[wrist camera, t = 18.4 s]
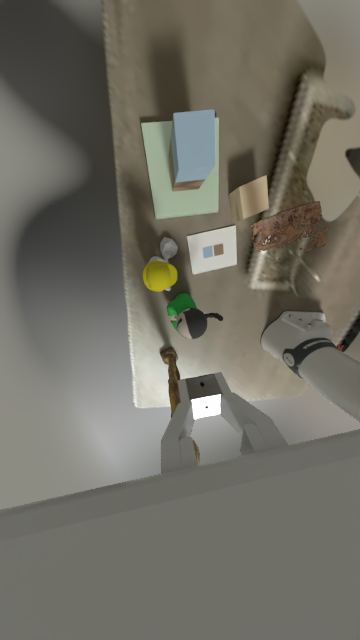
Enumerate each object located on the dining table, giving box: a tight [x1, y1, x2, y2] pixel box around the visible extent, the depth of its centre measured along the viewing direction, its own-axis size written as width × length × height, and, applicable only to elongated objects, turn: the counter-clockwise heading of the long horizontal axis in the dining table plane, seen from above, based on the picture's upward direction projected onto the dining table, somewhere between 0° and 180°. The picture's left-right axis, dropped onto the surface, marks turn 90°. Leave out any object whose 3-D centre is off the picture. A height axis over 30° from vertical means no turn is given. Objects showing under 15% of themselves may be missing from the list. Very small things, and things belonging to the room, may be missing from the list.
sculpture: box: [160, 348, 200, 466], centre depth 37 cm, size 7×6×30 cm
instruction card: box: [187, 225, 237, 274], centre depth 38 cm, size 12×9×1 cm
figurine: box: [143, 237, 178, 292], centre depth 31 cm, size 10×9×15 cm
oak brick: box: [229, 175, 269, 222], centre depth 32 cm, size 6×6×5 cm
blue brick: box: [171, 110, 215, 183], centre depth 23 cm, size 6×6×5 cm
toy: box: [167, 293, 223, 339], centre depth 36 cm, size 10×11×15 cm
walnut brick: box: [169, 138, 205, 192], centre depth 28 cm, size 6×6×5 cm
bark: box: [250, 201, 328, 264], centre depth 39 cm, size 22×12×1 cm, turn 111°
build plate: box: [141, 118, 219, 219], centre depth 30 cm, size 14×14×1 cm
